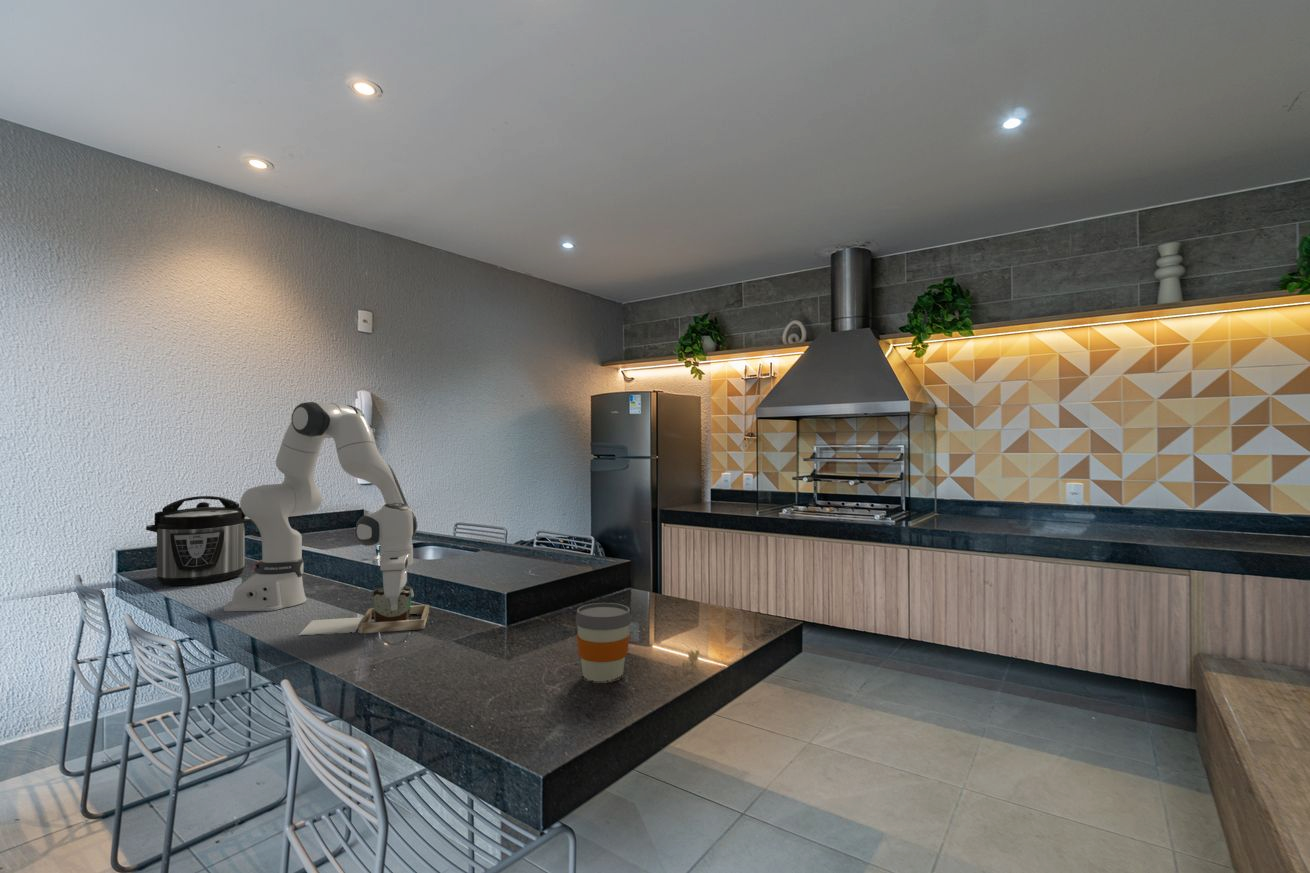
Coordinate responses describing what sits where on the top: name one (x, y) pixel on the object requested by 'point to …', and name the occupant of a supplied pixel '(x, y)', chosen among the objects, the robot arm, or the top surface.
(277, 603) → the robot arm
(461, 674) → the top surface
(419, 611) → the frame
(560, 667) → the top surface
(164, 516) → the pressure cooker
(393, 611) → the food container
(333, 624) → the mat
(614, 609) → the reusable coffee cup
